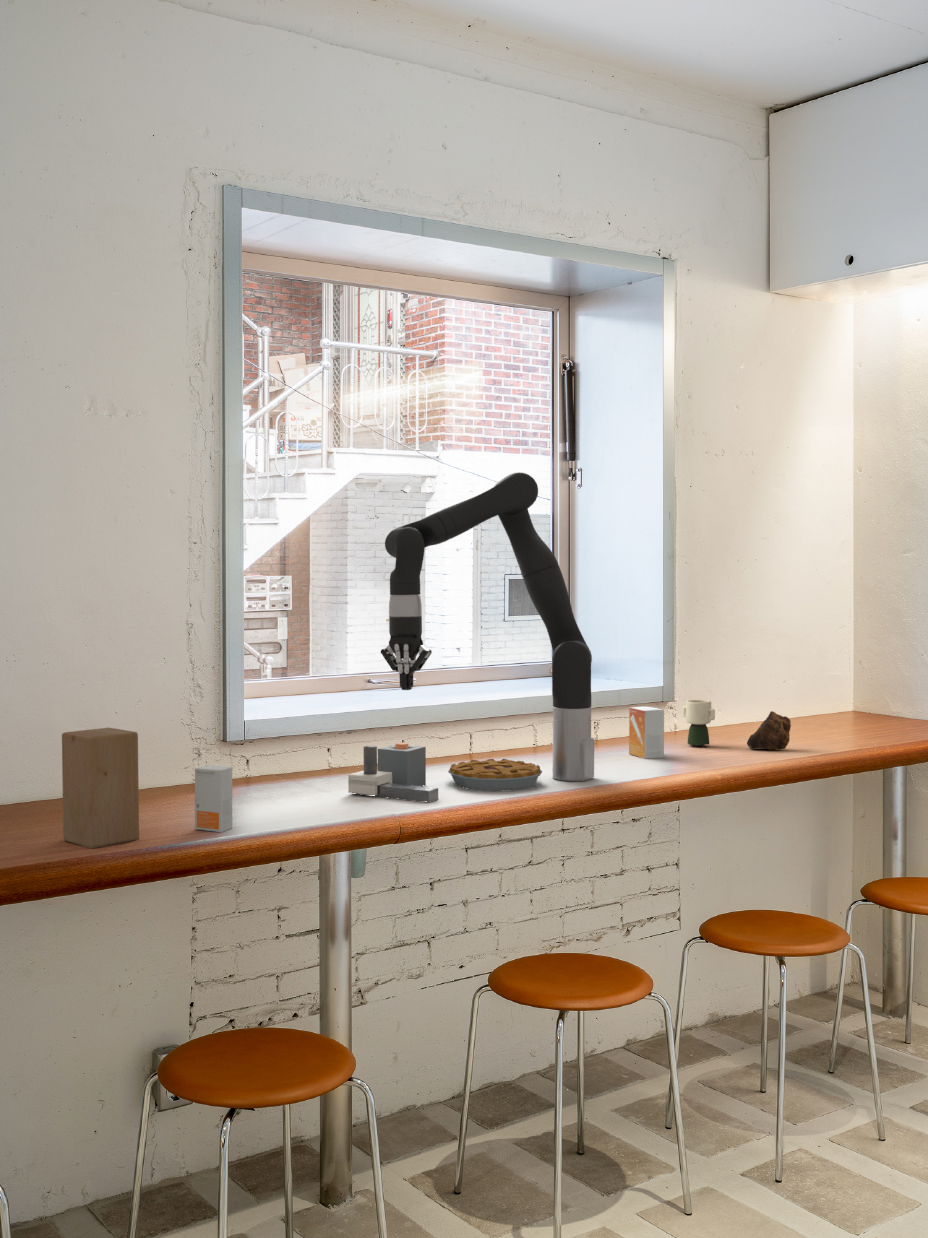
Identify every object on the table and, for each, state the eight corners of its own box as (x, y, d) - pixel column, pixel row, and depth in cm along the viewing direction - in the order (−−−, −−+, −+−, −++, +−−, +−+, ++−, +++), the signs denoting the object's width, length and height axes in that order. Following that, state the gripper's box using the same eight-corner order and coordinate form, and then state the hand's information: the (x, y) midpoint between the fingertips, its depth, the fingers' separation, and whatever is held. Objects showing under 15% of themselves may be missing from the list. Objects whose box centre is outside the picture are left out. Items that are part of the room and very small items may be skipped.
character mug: (721, 747, 322) (722, 701, 321) (706, 749, 317) (707, 703, 316) (690, 743, 330) (690, 698, 329) (675, 745, 325) (675, 700, 325)
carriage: (392, 790, 254) (391, 745, 253) (374, 795, 247) (374, 750, 247) (366, 787, 257) (366, 743, 257) (348, 792, 251) (348, 747, 251)
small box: (628, 754, 308) (628, 707, 308) (648, 753, 311) (648, 706, 310) (644, 759, 301) (644, 710, 300) (664, 757, 303) (664, 709, 303)
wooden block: (90, 849, 201) (89, 737, 200) (62, 840, 208) (60, 732, 207) (140, 839, 208) (139, 731, 208) (111, 831, 215) (109, 727, 214)
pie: (434, 780, 271) (434, 759, 271) (516, 773, 280) (516, 753, 279) (470, 796, 251) (470, 773, 251) (558, 789, 259) (558, 767, 259)
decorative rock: (789, 748, 319) (789, 710, 319) (792, 752, 313) (793, 713, 313) (745, 748, 320) (746, 710, 320) (748, 751, 314) (749, 712, 314)
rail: (438, 799, 246) (438, 788, 246) (428, 802, 243) (428, 791, 242) (362, 791, 256) (361, 780, 256) (351, 794, 252) (351, 782, 252)
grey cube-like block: (425, 785, 263) (425, 746, 262) (407, 791, 256) (407, 751, 255) (396, 782, 267) (396, 744, 266) (377, 787, 260) (377, 748, 259)
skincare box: (194, 830, 216) (193, 768, 216) (206, 825, 220) (206, 764, 220) (221, 833, 214) (220, 770, 214) (233, 828, 218) (233, 766, 217)
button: (410, 762, 262) (410, 743, 261) (403, 764, 259) (403, 745, 259) (399, 761, 263) (399, 742, 263) (392, 763, 260) (392, 744, 260)
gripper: (438, 614, 260) (439, 689, 260) (389, 614, 266) (391, 687, 267) (421, 615, 253) (422, 692, 254) (372, 615, 260) (373, 690, 260)
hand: (406, 689), depth 260 cm, fingers closed
